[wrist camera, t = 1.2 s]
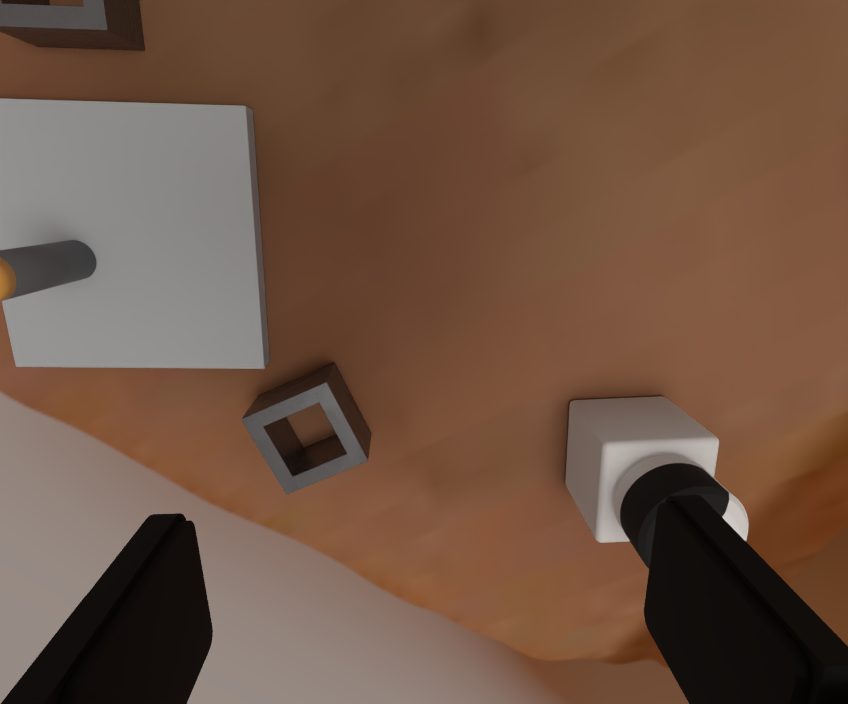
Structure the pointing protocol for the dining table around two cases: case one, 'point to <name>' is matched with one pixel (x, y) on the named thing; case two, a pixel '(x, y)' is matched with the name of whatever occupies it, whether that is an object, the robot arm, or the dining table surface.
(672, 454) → the medicine bottle
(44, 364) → the keeper
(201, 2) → the dining table surface
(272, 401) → the link
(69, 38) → the link
